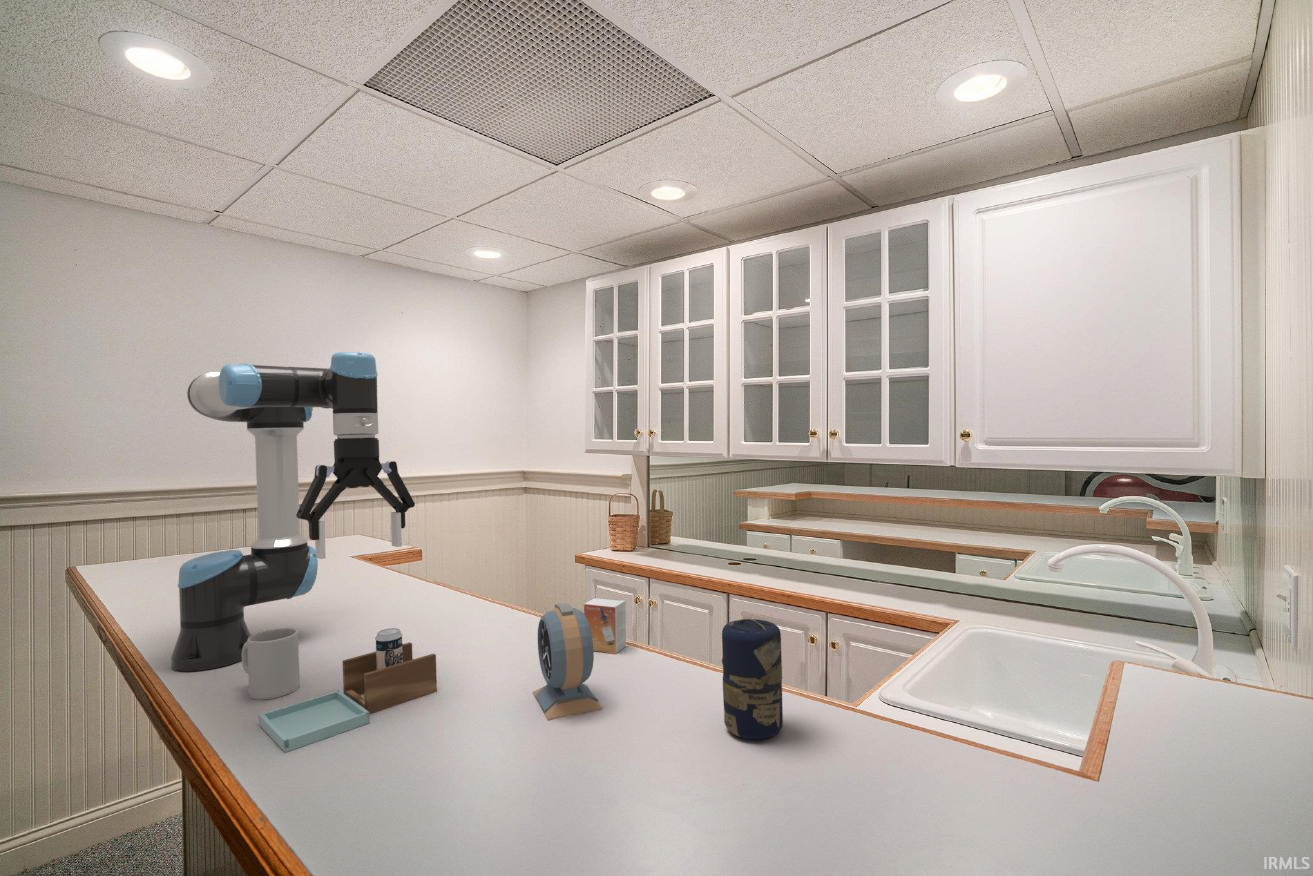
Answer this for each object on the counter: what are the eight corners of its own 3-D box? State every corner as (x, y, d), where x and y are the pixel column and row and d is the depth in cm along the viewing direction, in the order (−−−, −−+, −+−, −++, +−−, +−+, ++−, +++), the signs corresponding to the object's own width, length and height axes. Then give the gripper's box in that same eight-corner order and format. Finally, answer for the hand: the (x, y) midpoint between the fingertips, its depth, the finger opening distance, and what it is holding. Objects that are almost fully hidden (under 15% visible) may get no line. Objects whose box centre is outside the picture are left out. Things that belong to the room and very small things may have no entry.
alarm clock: (531, 691, 119) (528, 598, 118) (581, 682, 123) (578, 592, 122) (549, 723, 106) (546, 618, 105) (604, 711, 109) (601, 610, 109)
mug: (310, 684, 125) (308, 629, 125) (272, 702, 117) (270, 643, 116) (263, 678, 128) (261, 625, 128) (224, 695, 120) (222, 639, 120)
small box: (583, 650, 140) (582, 603, 140) (595, 642, 145) (594, 597, 145) (616, 654, 137) (615, 606, 137) (626, 646, 142) (625, 600, 142)
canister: (746, 750, 95) (743, 632, 95) (712, 725, 103) (710, 616, 103) (795, 734, 99) (793, 622, 99) (759, 711, 108) (757, 607, 108)
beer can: (394, 700, 116) (392, 636, 116) (371, 699, 117) (369, 635, 117) (409, 689, 121) (407, 628, 121) (387, 688, 122) (385, 627, 122)
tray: (259, 725, 107) (258, 714, 107) (339, 700, 117) (338, 690, 117) (284, 752, 98) (284, 741, 98) (369, 722, 107) (369, 712, 107)
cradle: (343, 697, 118) (342, 660, 118) (410, 676, 127) (409, 642, 127) (367, 714, 110) (366, 675, 110) (436, 691, 120) (435, 654, 120)
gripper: (287, 438, 104) (291, 566, 104) (430, 435, 122) (433, 543, 122) (273, 439, 109) (278, 560, 109) (412, 435, 127) (416, 539, 127)
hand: (360, 552), depth 116 cm, fingers open, 13 cm apart
